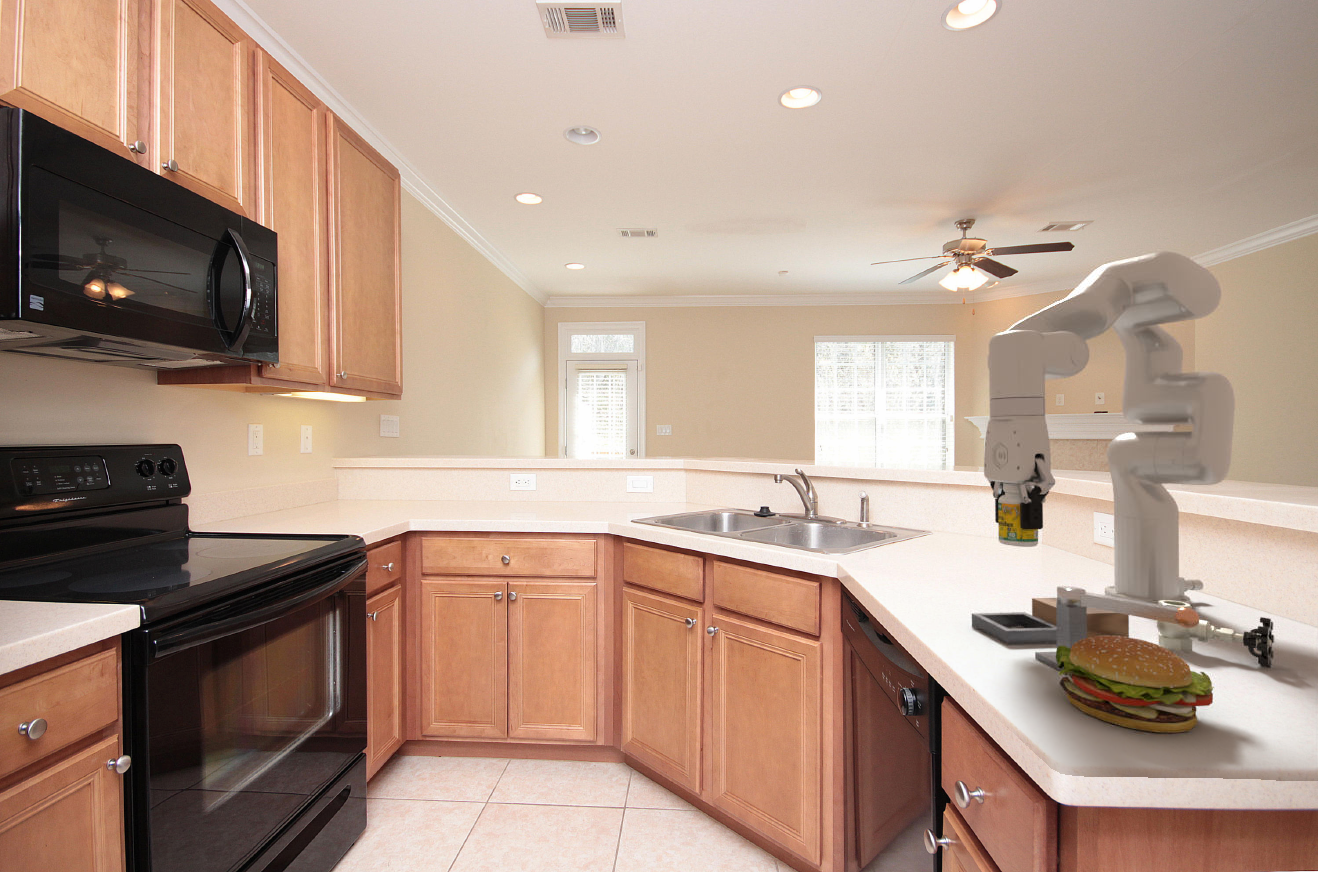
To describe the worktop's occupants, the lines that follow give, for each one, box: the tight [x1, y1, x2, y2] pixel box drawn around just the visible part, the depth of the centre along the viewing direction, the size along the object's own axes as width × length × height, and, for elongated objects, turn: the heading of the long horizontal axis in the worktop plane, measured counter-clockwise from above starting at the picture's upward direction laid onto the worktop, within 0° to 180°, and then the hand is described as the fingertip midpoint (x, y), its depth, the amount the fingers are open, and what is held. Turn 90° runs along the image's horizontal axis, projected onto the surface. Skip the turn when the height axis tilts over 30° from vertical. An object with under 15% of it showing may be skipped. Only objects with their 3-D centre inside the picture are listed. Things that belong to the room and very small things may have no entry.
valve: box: [1155, 600, 1275, 669], centre depth 85 cm, size 7×7×12 cm
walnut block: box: [1031, 597, 1130, 638], centre depth 96 cm, size 9×9×4 cm
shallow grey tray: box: [971, 611, 1057, 646], centre depth 95 cm, size 9×9×2 cm
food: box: [1055, 635, 1215, 734], centre depth 68 cm, size 14×14×8 cm
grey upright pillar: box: [1034, 602, 1087, 676], centre depth 82 cm, size 6×6×8 cm
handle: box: [1056, 585, 1201, 628], centre depth 77 cm, size 15×3×2 cm, turn 36°
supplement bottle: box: [997, 483, 1039, 548], centre depth 95 cm, size 5×5×10 cm
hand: (1018, 524), depth 95 cm, fingers closed on supplement bottle, 5 cm apart
